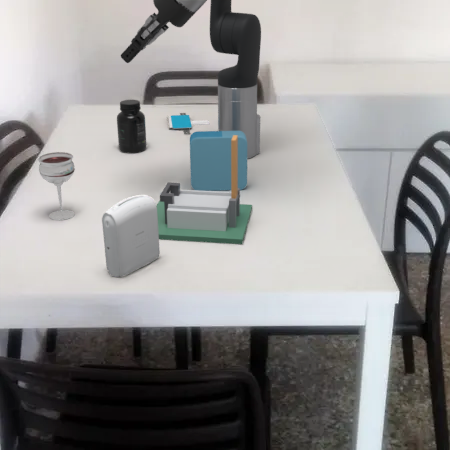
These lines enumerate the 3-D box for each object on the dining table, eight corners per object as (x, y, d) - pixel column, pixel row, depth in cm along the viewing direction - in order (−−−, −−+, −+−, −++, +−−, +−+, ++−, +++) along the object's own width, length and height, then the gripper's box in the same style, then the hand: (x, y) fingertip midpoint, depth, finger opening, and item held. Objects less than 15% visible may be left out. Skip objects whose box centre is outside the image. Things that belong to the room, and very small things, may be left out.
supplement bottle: (143, 143, 184) (140, 97, 179) (149, 152, 178) (146, 104, 173) (116, 146, 182) (113, 99, 177) (121, 155, 176) (118, 106, 171)
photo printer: (119, 280, 120) (114, 212, 115) (102, 272, 122) (96, 205, 117) (163, 258, 127) (160, 193, 122) (146, 251, 129) (142, 186, 124)
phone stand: (212, 135, 192) (212, 129, 191) (167, 137, 190) (167, 131, 190) (206, 114, 210) (205, 108, 209) (164, 116, 209) (164, 110, 208)
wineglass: (41, 211, 146) (35, 154, 141) (75, 206, 148) (69, 150, 143) (47, 224, 140) (40, 165, 135) (82, 218, 142) (76, 161, 137)
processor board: (252, 209, 146) (252, 177, 143) (242, 244, 132) (242, 210, 129) (160, 204, 148) (158, 173, 146) (140, 238, 134) (138, 204, 131)
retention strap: (238, 198, 138) (238, 135, 133) (236, 204, 136) (236, 140, 130) (232, 198, 138) (232, 135, 133) (230, 204, 136) (230, 140, 130)
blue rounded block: (245, 182, 159) (245, 130, 154) (247, 190, 155) (247, 136, 150) (191, 183, 159) (189, 131, 154) (191, 191, 155) (189, 137, 150)
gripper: (176, -23, 143) (120, 39, 149) (161, -15, 131) (100, 52, 138) (203, 6, 144) (146, 65, 151) (190, 16, 132) (129, 80, 139)
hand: (124, 59), depth 144 cm, fingers closed
